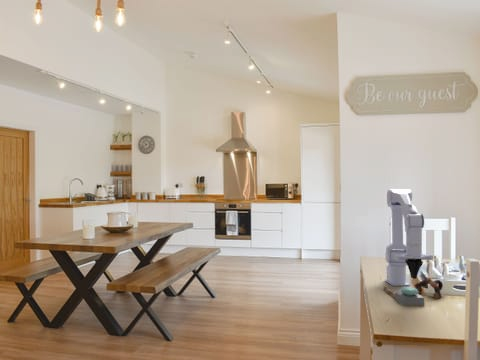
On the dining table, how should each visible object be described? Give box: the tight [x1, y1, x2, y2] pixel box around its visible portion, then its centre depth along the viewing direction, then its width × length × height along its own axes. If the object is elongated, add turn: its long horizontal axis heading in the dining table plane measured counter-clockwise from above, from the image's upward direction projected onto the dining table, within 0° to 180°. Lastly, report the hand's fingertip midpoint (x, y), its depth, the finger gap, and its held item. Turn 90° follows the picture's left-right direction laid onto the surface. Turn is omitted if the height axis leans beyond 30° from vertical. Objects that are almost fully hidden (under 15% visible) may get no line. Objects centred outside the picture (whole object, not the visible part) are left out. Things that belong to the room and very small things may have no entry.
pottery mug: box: [413, 277, 444, 300], centre depth 171 cm, size 12×10×8 cm
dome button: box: [400, 286, 419, 296], centre depth 161 cm, size 6×6×4 cm
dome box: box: [394, 291, 425, 307], centre depth 161 cm, size 8×8×3 cm
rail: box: [383, 286, 395, 299], centre depth 171 cm, size 14×1×2 cm, turn 2°
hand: (413, 278), depth 162 cm, fingers closed
